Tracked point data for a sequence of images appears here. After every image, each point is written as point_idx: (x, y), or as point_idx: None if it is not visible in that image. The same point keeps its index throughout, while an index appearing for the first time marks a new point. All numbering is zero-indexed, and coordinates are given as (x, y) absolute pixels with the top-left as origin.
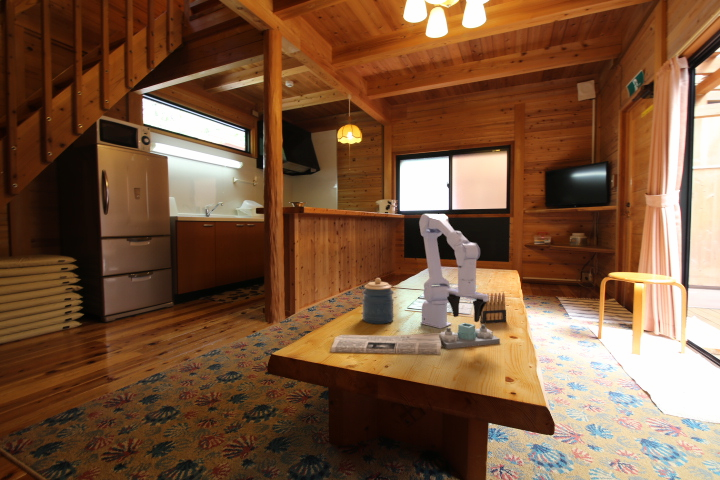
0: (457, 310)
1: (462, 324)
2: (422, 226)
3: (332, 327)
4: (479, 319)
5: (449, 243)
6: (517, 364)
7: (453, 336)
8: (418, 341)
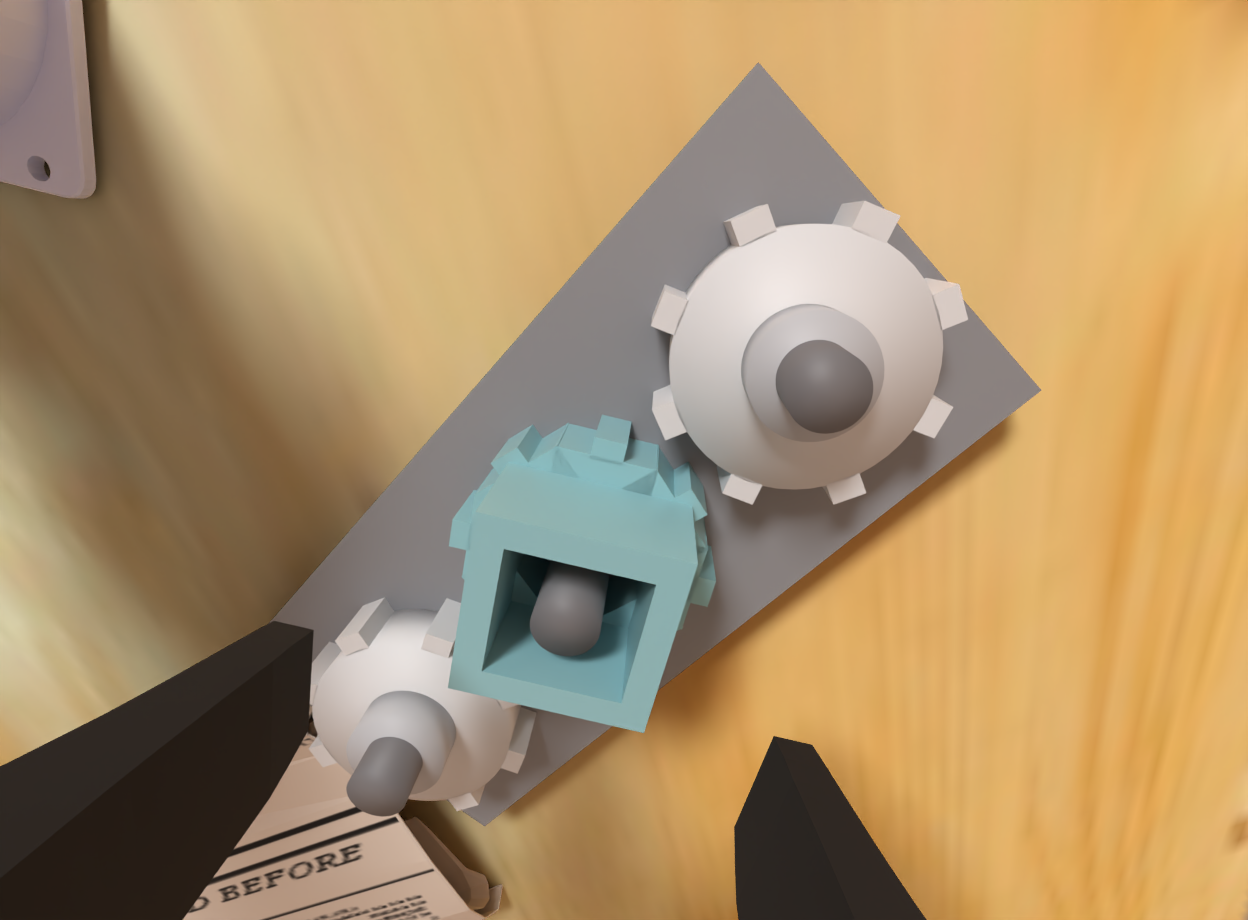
0: (212, 767)
1: (490, 626)
2: None
3: None
4: (827, 772)
5: None
6: (1133, 832)
7: (492, 770)
8: (258, 916)
